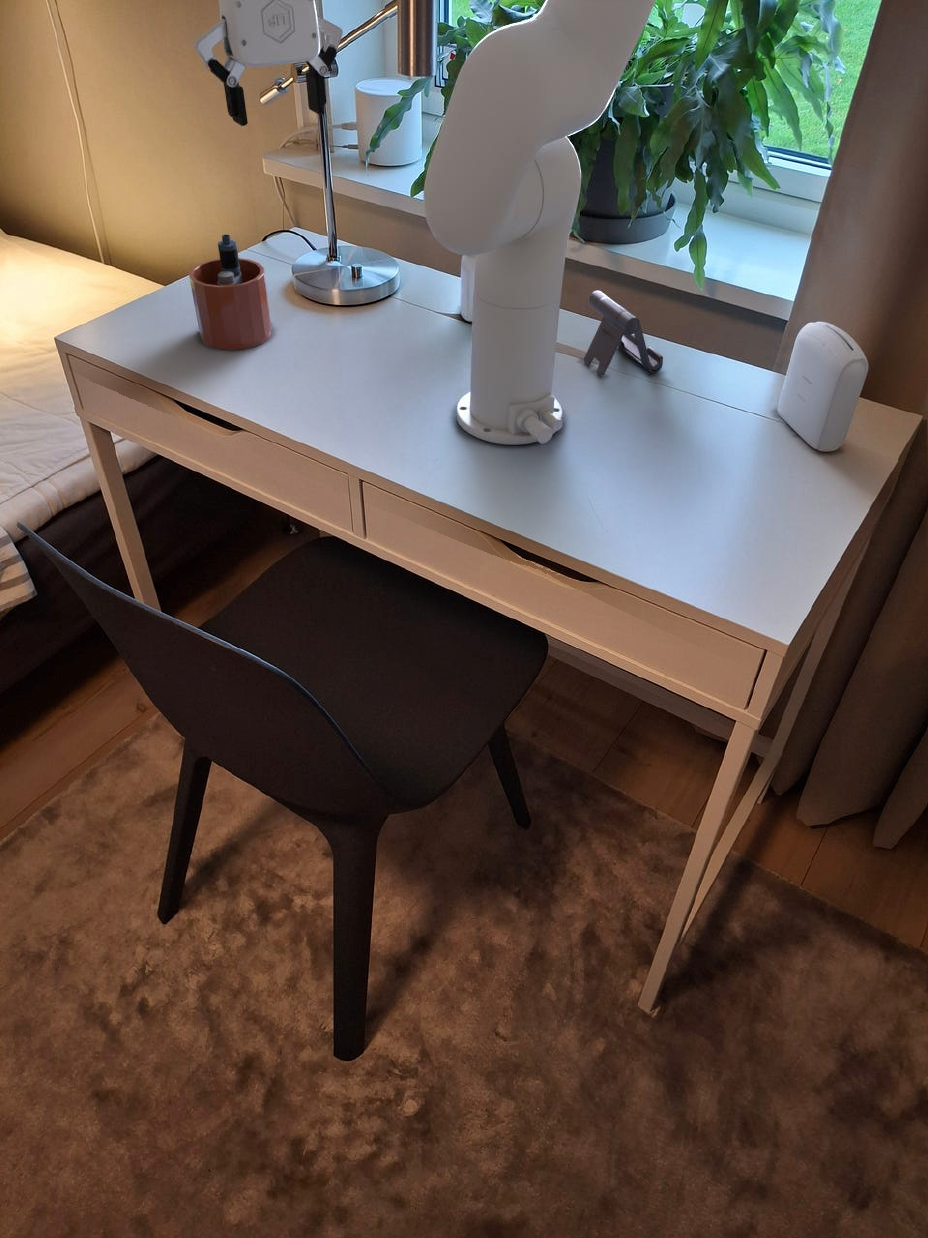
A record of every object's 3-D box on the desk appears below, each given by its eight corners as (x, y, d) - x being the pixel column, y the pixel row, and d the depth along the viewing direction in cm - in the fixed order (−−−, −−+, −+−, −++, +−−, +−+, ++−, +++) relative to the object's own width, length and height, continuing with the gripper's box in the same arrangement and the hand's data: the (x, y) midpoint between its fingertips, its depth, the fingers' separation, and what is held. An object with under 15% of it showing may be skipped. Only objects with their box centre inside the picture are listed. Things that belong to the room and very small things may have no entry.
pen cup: (282, 340, 124) (274, 278, 118) (214, 355, 120) (203, 292, 114) (257, 313, 130) (248, 252, 124) (191, 327, 126) (180, 265, 120)
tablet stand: (662, 372, 119) (673, 310, 114) (610, 384, 117) (619, 321, 111) (625, 344, 125) (634, 283, 120) (575, 354, 123) (581, 293, 117)
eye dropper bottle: (450, 318, 129) (451, 231, 121) (466, 303, 133) (468, 217, 125) (479, 324, 128) (482, 237, 120) (494, 309, 132) (498, 223, 124)
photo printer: (770, 410, 113) (797, 313, 105) (801, 406, 114) (830, 310, 105) (813, 455, 106) (846, 355, 97) (847, 451, 106) (882, 351, 98)
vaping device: (250, 321, 126) (238, 232, 118) (242, 339, 122) (228, 248, 114) (232, 321, 126) (218, 231, 118) (222, 338, 123) (207, 247, 114)
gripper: (190, -54, 91) (220, 135, 103) (348, -64, 98) (359, 115, 110) (167, -62, 96) (197, 119, 108) (319, -71, 103) (332, 101, 114)
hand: (279, 117), depth 109 cm, fingers open, 9 cm apart
